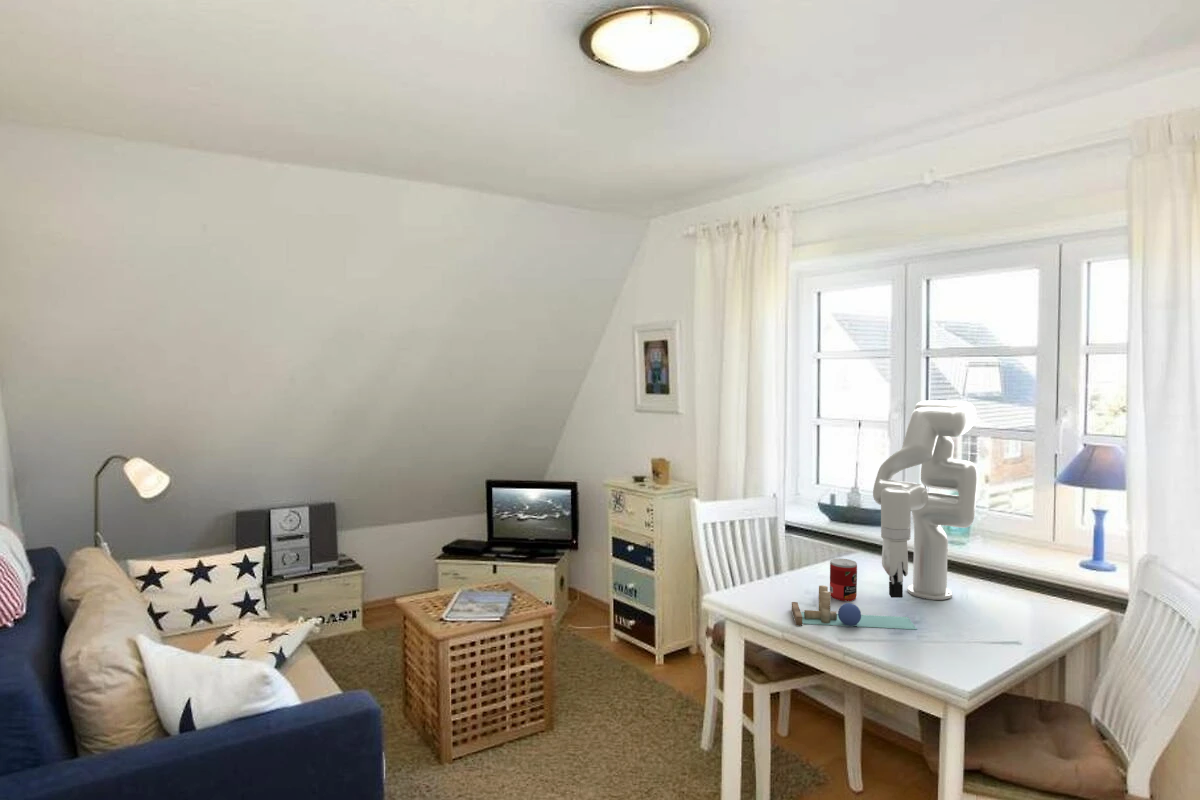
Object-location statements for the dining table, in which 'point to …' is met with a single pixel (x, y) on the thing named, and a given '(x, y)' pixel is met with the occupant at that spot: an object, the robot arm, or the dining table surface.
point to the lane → (869, 622)
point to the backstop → (797, 613)
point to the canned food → (843, 579)
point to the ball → (849, 614)
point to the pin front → (818, 614)
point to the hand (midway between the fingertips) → (895, 596)
